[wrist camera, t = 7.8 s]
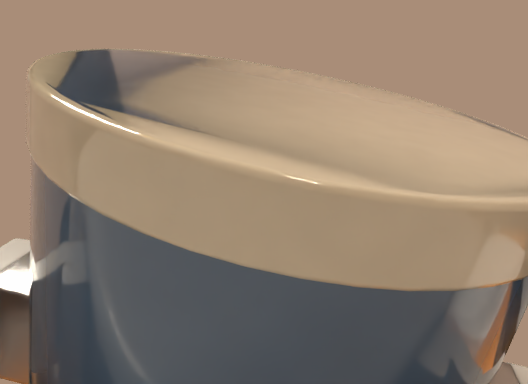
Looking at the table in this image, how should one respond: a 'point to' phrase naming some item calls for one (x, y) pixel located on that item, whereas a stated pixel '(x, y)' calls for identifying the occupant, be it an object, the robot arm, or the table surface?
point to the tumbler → (264, 227)
